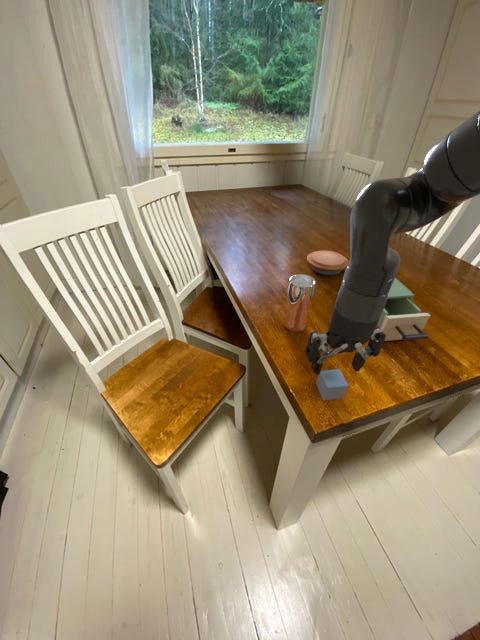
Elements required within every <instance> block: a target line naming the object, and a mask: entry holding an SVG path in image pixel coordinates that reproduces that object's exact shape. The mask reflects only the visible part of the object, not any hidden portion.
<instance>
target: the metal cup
mask: <svg viewBox="0 0 480 640" xmlns="http://www.w3.org/2000/svg"><path fill="white" fill-rule="evenodd" d="M316 282H317V281H316V279H315V278H314V277H313V276H311V275H308V274H303V273H298V274H297V273H296V274H293V275H292V276H290V278H289V282H288V286H287V291H286V311H287V312H286V317H285V320H284V327H285V328H286V330H288V331H291V332H294V333H299V332H302V331H304V330H305V329H306V325H307V323H306V320H307V319H306V318H307V315H308V313H309V311H310V308H311V306H312V303H313V300H314V297H315V291H316V284H317V283H316Z"/></svg>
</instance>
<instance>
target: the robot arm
mask: <svg viewBox="0 0 480 640" xmlns="http://www.w3.org/2000/svg"><path fill="white" fill-rule="evenodd" d="M478 196H480V110H478V111H476V112H475V113H474V114H473V115H472V116H470V117H469V118H467V119H466V120H464V121H463V122H461V124H459V125H458V126H457V127H455V128H454V129H453V130H451V131H450V132H449V133H447V134H446V135H445V136H443V137H442V138H441V139H440V140H438V141H437V142H436V143H435V144H434V145H433V146H432V147H431V148H430V150H429V151H428V152H427V153H426V155H425V157H424V160H423V163H422V168H420V169H419V170H417V171H415V172H414V173H412V174H410V175H408V176H403V177H393V178H392V177H391V178H383V179H378V180H374V181H372V182H370V183H368V184H367V185H365V186H364V187H362V189H361V190H360V192H359V193H358V194H357V196H356V198H355V200H354V202H353V204H352V206H351V210H350V216H349V260H348V261H349V263H348V265H347V267H346V269H347V270H346V269H345V270H346V273H345V272H344V273H345V277H344V276H343V277H344V280H343V279H342V280H343V283H342V282H341V284H342V285H341V284H340V288H339V289H338V293H337V295H336V299H335V301H334V306H333V310H332V314H331V316H330V320H329V327H328V329H327V331H326V332H325V333H318V331H316V330H312V331H311V332H310V334H309V337H308V340H307V343H306V347H305V350H304V354H305V357H306V358H307V360H308V362H309V363H310V368H311V370H312V372H313V374H314V375H315V376H318V375H320V372H321V371H322V368H323V365H324V362H325V361H326V360H327V359H332V358H333V357H336V355H338V354H345V353H354V352H355V351H356V352H355V354H354V356H353V358H352V361H351V367H352V369H353V370H354V372H360V371H361V369H362V368H363V367H364V365H365V363H366V360H369V359H370V357H373V358H376V357H378V356H379V355H380V352H381V351H382V348H383V345H384V343H385V341H384V340H385V338H386V335H385V333H384V332H383V331H382V330H381V328H380V327H379V326H377V323H378V321H379V319H380V316H381V314H382V312H383V309H384V307H385V305H386V301H387V297H388V294H389V291H390V288H391V286H392V284H393V281H394V279H395V278H396V276H397V275H398V272H399V270H400V265H401V256H400V255H399V254H400V253H399V252H397V251H396V250H395V249H393V248H391V247H389V246H390V243H391V239H392V237H393V236H394V235H400V234H404V233H410V232H413V231H416V230H418V229H421V228H423V227H426V226H428V225H430V224H432V223H434V222H436V221H437V220H439V219H441V218H442V217H444V216H446V215H447V214H449V213H450V212H452V211H453V210H455V209H456V208H458V207H459V206H460V205H462V204H463V203H464V202H466V201H468V200H470V199H473V198H476V197H478ZM366 343H367V346H366V347H364V346H363V345H364V344H366ZM329 347H330V348H331V349H330V348H329ZM322 353H323V354H322Z"/></svg>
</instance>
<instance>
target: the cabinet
mask: <svg viewBox="0 0 480 640" xmlns="http://www.w3.org/2000/svg"><path fill="white" fill-rule="evenodd" d="M346 270H347V268H345V270H344V273H343V276H342V281H341V284H340V286H341V285H342V283H343V280H344V277H345V273H346ZM396 298H409V299H410V300H411V301H412V302H413V299H414V298H415V294H414V292H412V291H411V290H410V289H409V288H407V286H406V285H405V284H404V283H402V282H401V281H400V280H399V279H398V278H396V277H395V279H394V281H393V284H392V286H391V288H390V291H389V294H388V297H387V299H396Z"/></svg>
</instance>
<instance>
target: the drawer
mask: <svg viewBox="0 0 480 640" xmlns="http://www.w3.org/2000/svg"><path fill="white" fill-rule="evenodd" d="M430 317H431V314H430V313H429V312H422V310H421V308H420V307H418V306H417V305H416V304H415V303H414V302H413V300H412V301H411V300H410V299H409V298H396V299H387V301H386V305H385V307H384V309H383V312H382V314H381V316H380V319H379V321H378V323H377V326H379V327H380V328H381V330H382V331H383V332H384V333H385V335H386V338H385V340H384V342H388V341H399V340H401V341H406V342H407V341H418V340H419V341H421V340H428V339H429V337H430V336H429V333H427V332H424V331H423V330H424V328H425V326H426V325H427V323H428V321H429V319H430Z"/></svg>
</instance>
